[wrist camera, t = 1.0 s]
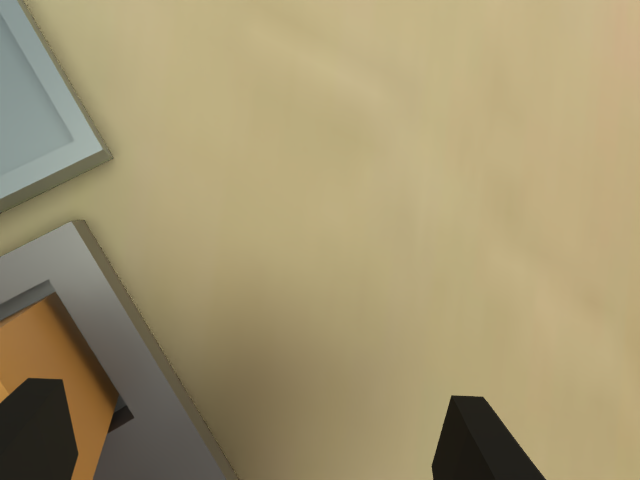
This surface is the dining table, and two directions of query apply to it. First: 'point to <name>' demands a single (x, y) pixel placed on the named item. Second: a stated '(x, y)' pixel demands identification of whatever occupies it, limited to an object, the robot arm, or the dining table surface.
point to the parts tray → (38, 114)
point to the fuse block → (117, 359)
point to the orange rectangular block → (60, 372)
